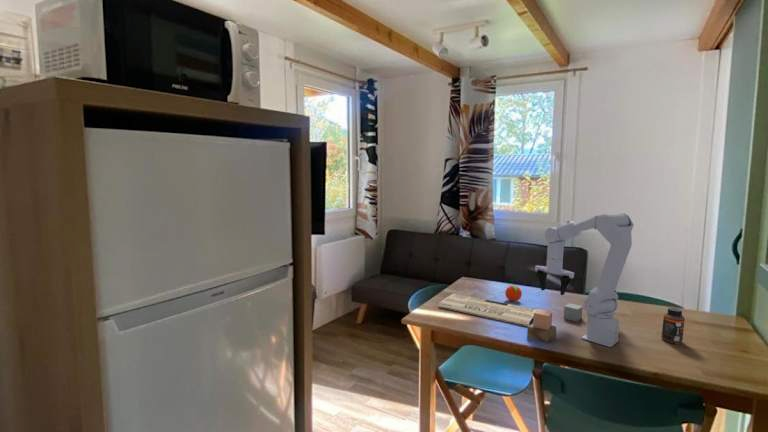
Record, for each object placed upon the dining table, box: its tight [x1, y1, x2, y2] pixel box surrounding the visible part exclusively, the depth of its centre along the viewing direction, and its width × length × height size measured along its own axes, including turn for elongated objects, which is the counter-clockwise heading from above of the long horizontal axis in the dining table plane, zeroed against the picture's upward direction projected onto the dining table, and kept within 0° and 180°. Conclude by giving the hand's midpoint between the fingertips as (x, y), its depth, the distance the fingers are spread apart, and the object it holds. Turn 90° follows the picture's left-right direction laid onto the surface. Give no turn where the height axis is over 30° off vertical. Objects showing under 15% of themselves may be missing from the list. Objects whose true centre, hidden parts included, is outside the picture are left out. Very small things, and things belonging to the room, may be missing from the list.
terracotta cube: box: [532, 308, 553, 330], centre depth 145 cm, size 5×5×5 cm
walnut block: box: [526, 323, 557, 344], centre depth 145 cm, size 7×7×4 cm
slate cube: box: [563, 302, 584, 322], centre depth 164 cm, size 5×5×5 cm
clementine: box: [504, 285, 523, 302], centre depth 183 cm, size 8×7×7 cm
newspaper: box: [437, 293, 538, 327], centre depth 171 cm, size 37×19×3 cm, turn 57°
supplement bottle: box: [661, 306, 686, 344], centre depth 143 cm, size 6×6×11 cm
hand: (552, 292), depth 163 cm, fingers open, 7 cm apart
